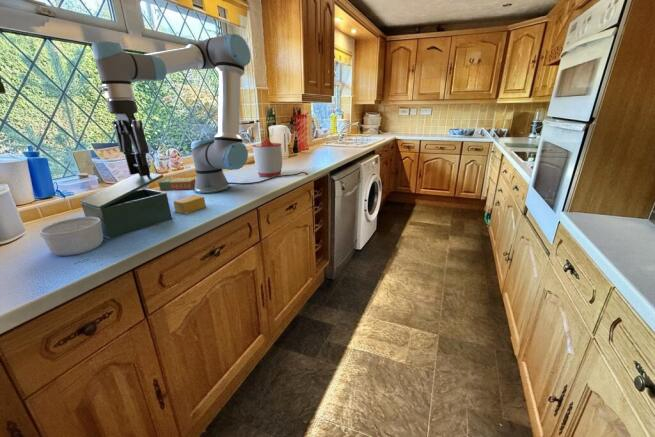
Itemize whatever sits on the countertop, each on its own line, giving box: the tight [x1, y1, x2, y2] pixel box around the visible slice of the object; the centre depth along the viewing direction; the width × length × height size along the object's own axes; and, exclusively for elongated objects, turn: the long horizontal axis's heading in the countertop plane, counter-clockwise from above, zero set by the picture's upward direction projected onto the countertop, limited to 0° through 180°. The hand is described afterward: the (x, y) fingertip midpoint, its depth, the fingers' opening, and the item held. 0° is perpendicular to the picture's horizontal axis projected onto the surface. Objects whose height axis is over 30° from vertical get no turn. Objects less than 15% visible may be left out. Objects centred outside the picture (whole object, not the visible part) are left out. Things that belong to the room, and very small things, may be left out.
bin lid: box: [79, 162, 164, 209], centre depth 95 cm, size 21×13×6 cm, turn 148°
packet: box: [172, 194, 207, 215], centre depth 114 cm, size 9×6×4 cm, turn 148°
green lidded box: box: [80, 188, 173, 240], centre depth 99 cm, size 20×13×10 cm
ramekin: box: [39, 216, 104, 257], centre depth 83 cm, size 13×13×7 cm
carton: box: [158, 176, 196, 191], centre depth 148 cm, size 8×16×4 cm, turn 88°
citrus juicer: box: [252, 138, 283, 178], centre depth 167 cm, size 16×17×20 cm
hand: (140, 174), depth 100 cm, fingers closed on bin lid, 6 cm apart
